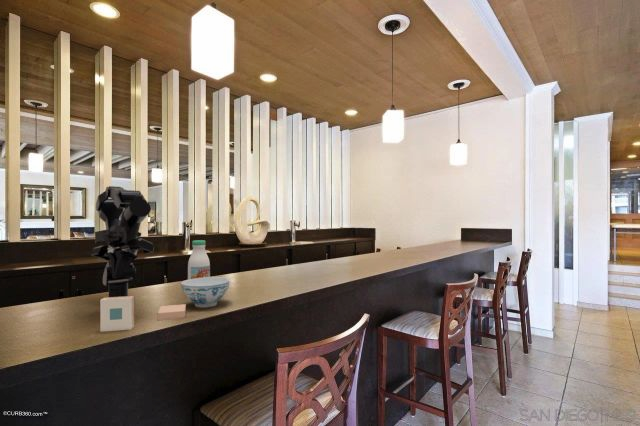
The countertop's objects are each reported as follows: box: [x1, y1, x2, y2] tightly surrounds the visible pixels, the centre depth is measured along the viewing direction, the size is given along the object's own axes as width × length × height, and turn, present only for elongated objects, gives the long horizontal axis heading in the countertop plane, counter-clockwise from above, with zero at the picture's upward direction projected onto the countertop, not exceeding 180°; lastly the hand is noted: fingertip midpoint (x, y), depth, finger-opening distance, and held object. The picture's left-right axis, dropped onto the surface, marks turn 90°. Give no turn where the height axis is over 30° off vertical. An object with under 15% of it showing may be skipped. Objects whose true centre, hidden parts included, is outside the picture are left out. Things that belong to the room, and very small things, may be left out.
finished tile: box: [157, 303, 187, 321], centre depth 100 cm, size 8×7×2 cm
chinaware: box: [180, 276, 231, 308], centre depth 111 cm, size 15×15×8 cm
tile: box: [99, 295, 135, 333], centre depth 88 cm, size 2×7×8 cm, turn 103°
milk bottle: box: [187, 239, 211, 280], centre depth 126 cm, size 8×8×20 cm
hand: (115, 278), depth 97 cm, fingers closed
